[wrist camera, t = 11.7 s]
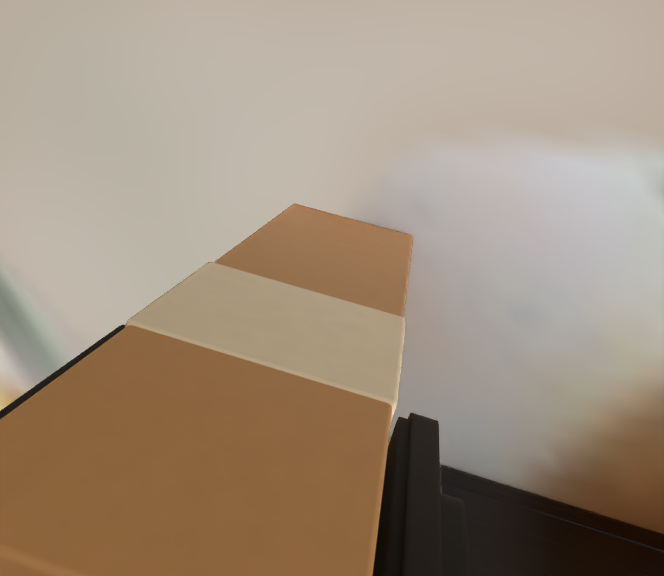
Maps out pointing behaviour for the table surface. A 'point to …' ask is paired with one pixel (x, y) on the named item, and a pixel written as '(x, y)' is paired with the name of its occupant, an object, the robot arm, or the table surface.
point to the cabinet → (546, 534)
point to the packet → (222, 419)
